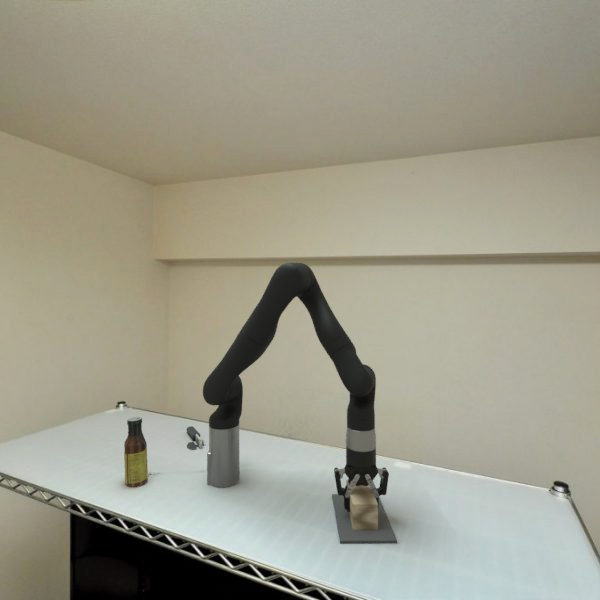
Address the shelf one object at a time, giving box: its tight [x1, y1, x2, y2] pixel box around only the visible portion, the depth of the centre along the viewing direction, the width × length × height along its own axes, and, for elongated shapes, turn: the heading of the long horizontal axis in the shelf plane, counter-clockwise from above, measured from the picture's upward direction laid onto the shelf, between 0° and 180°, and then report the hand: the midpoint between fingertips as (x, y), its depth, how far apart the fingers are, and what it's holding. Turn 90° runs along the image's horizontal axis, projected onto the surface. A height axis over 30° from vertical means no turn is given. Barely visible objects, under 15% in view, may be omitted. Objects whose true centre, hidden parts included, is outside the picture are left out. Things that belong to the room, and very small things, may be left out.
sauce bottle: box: [123, 416, 149, 488], centre depth 109 cm, size 7×6×20 cm
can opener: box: [186, 426, 205, 451], centre depth 139 cm, size 19×6×5 cm, turn 26°
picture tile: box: [331, 493, 398, 545], centre depth 92 cm, size 13×20×1 cm, turn 0°
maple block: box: [345, 479, 378, 530], centre depth 92 cm, size 6×12×6 cm, turn 0°
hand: (361, 510), depth 92 cm, fingers closed on maple block, 6 cm apart
